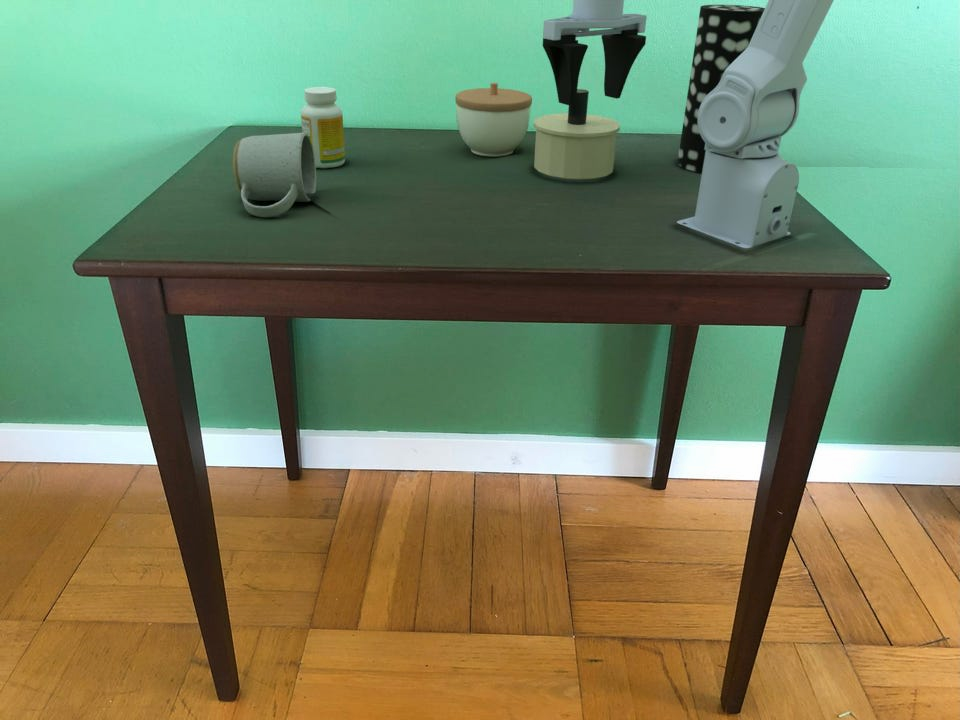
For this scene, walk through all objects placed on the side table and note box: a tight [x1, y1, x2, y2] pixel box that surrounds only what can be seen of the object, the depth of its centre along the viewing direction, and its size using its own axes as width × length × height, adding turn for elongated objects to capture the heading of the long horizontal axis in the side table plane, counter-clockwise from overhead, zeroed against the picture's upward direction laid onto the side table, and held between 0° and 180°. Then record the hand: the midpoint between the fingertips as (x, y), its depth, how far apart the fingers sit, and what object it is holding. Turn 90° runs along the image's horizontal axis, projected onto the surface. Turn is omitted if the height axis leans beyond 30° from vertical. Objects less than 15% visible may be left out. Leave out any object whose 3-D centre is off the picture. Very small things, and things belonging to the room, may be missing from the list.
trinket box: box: [454, 82, 533, 157], centre depth 109 cm, size 11×11×9 cm
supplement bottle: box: [300, 86, 346, 169], centre depth 102 cm, size 5×5×10 cm
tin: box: [533, 128, 618, 180], centre depth 102 cm, size 10×10×6 cm
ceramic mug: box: [232, 132, 317, 218], centre depth 87 cm, size 11×8×8 cm
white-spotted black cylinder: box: [676, 4, 765, 174], centre depth 102 cm, size 8×8×20 cm
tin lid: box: [533, 88, 621, 137], centre depth 99 cm, size 11×11×5 cm
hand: (589, 100), depth 93 cm, fingers open, 7 cm apart
